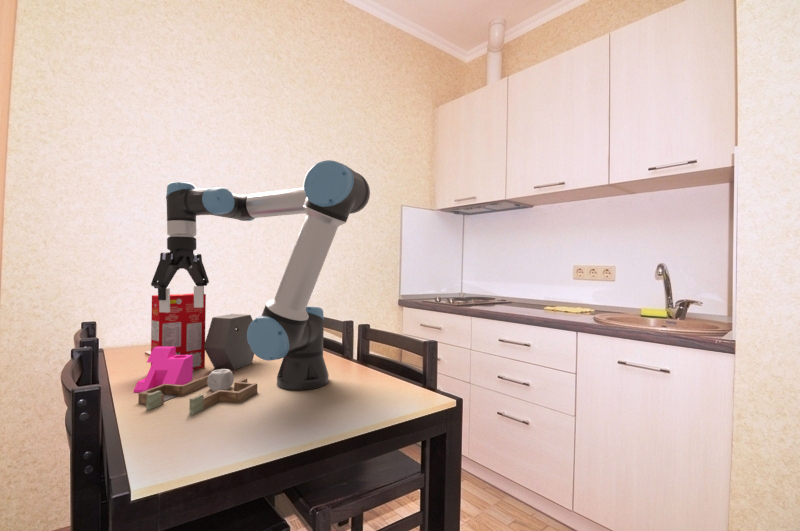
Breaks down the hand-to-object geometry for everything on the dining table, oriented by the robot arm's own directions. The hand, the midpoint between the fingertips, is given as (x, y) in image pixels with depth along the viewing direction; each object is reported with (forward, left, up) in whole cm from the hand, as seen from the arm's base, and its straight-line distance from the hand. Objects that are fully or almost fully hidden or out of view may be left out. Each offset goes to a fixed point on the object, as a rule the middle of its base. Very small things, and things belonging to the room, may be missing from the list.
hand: (182, 309), depth 117 cm
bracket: (+4, +2, -22) cm, 23 cm away
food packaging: (+12, -13, -22) cm, 28 cm away
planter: (-1, -23, -22) cm, 32 cm away
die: (-13, 0, -22) cm, 26 cm away
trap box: (-13, +8, -22) cm, 27 cm away
